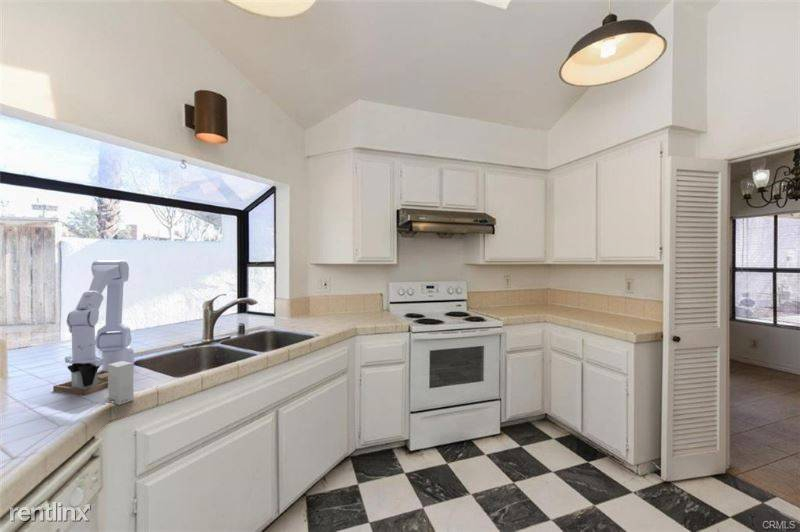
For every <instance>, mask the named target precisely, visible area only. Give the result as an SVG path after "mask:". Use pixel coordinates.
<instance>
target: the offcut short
mask: <svg viewBox="0 0 800 532" xmlns="http://www.w3.org/2000/svg"><path fill="white" fill-rule="evenodd" d="M97 379H98V382H99V383H98V384H102V383H105V382H108V373H103V374H99V375H97Z"/></svg>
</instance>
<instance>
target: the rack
mask: <svg viewBox="0 0 800 532" xmlns="http://www.w3.org/2000/svg"><path fill="white" fill-rule="evenodd" d="M103 373H108V371H103V370H102V371H97V375H99V374H103ZM106 388H108V382H105V383H102V384H101V383H98V385H95V386H92V387H89V388H86V389H81V388H73V387H72V380H69V381H66V382H65V381H64V382H63V383H59V384H56V385H53V387H52V390H53V392H60V393H66V394H72V395H73V394H74V395H80V396H86V395H89V394H92V393H96V392H97V391H101V390H103V389H106Z"/></svg>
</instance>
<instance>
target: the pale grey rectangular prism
mask: <svg viewBox="0 0 800 532" xmlns="http://www.w3.org/2000/svg"><path fill="white" fill-rule="evenodd" d="M97 373H98V371H97V372H96V374H95V377H94V381H93V384H92V385H89V386H86V387H85V386H84V384H83V378H82V375H81V372H80V371H76V372H73V373H71V372H70V374H71V377H70V378H71V381H72V386H71V387H73V388H81V389H87V388H90V387H93V386H96V385H99V383H98V379H97Z"/></svg>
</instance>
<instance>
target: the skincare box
mask: <svg viewBox="0 0 800 532" xmlns="http://www.w3.org/2000/svg"><path fill="white" fill-rule="evenodd" d="M107 389H108V390H107V393H108V394H107V396H108V398H109V399H111V400H110V401H113V402H114V403H113V404H115V405H118V406H119V405H123V404H126V403H128V402H132V401H134V399H135V398H134V394H135V393H134V366H133V363H129V362H125V361H120V362H116V363H112V364H108V387H107Z"/></svg>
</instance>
